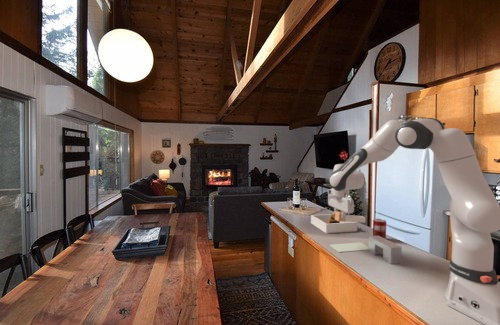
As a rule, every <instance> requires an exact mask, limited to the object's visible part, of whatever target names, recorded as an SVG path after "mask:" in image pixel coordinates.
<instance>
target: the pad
mask: <svg viewBox="0 0 500 325" xmlns="http://www.w3.org/2000/svg"><path fill="white" fill-rule="evenodd" d="M329 246H330V247H331V248H332V249H333V250H335V251H336V252H338V253H348V252H359V251H368V248H369V245H366V244H364V243H362V242H361V241H360V242H349V243H347V242H346V243H334V244H333V243H332V244H329Z"/></svg>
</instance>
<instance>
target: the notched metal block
mask: <svg viewBox="0 0 500 325" xmlns="http://www.w3.org/2000/svg"><path fill="white" fill-rule="evenodd" d="M368 247H369V248H368V250H367V251H368V252H370V253H371V254H373V255H382V260H383V261H385V262H386V263H388V264H390V265H392V264H393V265H394V264H401V263H402V248H403V247H402V246H401V245H399V244H397V243H395V242H393V241H391V240H388V239H387V238H386V239H385V238H382V237H380V236H373V235H370V236H368Z"/></svg>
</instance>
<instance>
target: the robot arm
mask: <svg viewBox="0 0 500 325" xmlns="http://www.w3.org/2000/svg"><path fill="white" fill-rule="evenodd" d="M399 147H401V148H405V149H410V150H427V149H430V150H431V151H432V153H433V155H434V157H435V160H436V164H437V167H438V169H439V172H440V175H441V178H442V182H443V183H444V185H445V188H446V189H447V191H448V193H449V195H450V197H451V198H450V200H449V202H448V204H449V206H448V207H449V219H450V220H449V222H450V230H451V237H452V238H451V239H452V240H451V242H452V244H451V258H450V259H449V270H450V274H449V280H448V284H447V287H446V290H445V293H443V295H444V296H443V297H444V299H445V300H446V302H445V304H446V305H447V307H449V308H452V309H454V310H456V311H457V312H458V313H459V312H460V313H462V314H464V315H465V316H467V317H469V318H471V319H473V320H475V321H477V322H479V323H481V324H483V325H500V283H499V282H500V281H499V279H500V275H497V274H496V273H497V272H496V270H495V269H494V258H495V256H494V253H495V245H494V243H493V240H492V235H491V233H492V234H493V233H495V232H499V231H500V205H499V202H498V200H497V199H496V196H495V195H494V192H493V191H492V189H491V187H490V185H489V183H488V182H487V180H486V178H485V176H484V173H483V172H482V168H481V166H480V163H479V160H478V158H477V154H476V152H475V150H474V147H473V145H472V143H471V142H470V139H469V138H468V136H467V135H466V133H465V132H464V130H462V129H460V128H455V127H449V128H446V127H445V125H444V124H443V122H442V121H441V120H439V119H437V118H433V117H425V118H416V119H412V120H409V121H408V120H407V121H406V122H403V121H401V120H398V119H390V120H388V121H386V122H385V123H384V124H383V125H382V126H381V127H380V128H379V129H378V130H377V131H376V132H375V133H374V134H373V136H372V137H371V138H370V139H369V140H368V141H367V142H366V143H365V144H364V145H363V146H361V147H360V148H359V149H357V150H356V151H355V152H354V153H353V154H352V155H351V156H350V157H348V159H347V160H346V161H345V162H344V163H337V164H335V165H334V167H333V170H332V172H331V174H330V176H329V179H328V181H329V182H328V183H329V185H330V186H331V188H330V189H327V194H328V195H327V204H328V206H330V207H332V208H333V210H334V213H335V212H336V211H338V212H339V211H340V212H342V215H341V219H345V215H347V214H354V212H355V205H354V204H355V202H354V200H353V198H352V196H351V195H350V190H359V189H362V188H364V186H365V183H366V177H365V174H363V172H362V171H360V170H358V169H360V168H361V167H363V166H365V165H369V164H373V163H378V162H382V161H385V160H387V159H388V158H389V157H391V156H392V155H393V154H394V153H395V151H396V150H397V149H398V148H399Z"/></svg>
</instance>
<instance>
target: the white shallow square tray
mask: <svg viewBox="0 0 500 325" xmlns="http://www.w3.org/2000/svg"><path fill="white" fill-rule="evenodd" d="M331 214H332V213H329V214H328V213H327V214H311V215H310V224H312V225H313V226H314V227H316V228H318V229H319V230H321V231H322V232H324V234H336V233H347V232H349V233H350V232H358V226H359V224H358V223H359V222H342V221H339V223H332V224H326V223H325V222H327V221H328V220H329V218H330V217H331V216H332V215H331Z"/></svg>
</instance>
